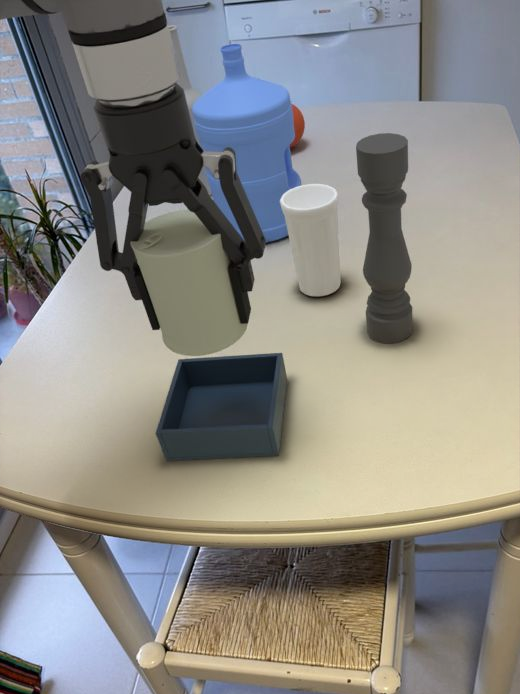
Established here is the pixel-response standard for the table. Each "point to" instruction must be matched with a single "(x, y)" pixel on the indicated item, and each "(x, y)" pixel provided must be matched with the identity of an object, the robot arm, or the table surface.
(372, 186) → the candle holder
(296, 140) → the tomato
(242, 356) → the box
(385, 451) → the table surface
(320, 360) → the table surface
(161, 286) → the can
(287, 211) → the cup
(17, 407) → the table surface
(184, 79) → the bottle
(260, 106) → the water jug
